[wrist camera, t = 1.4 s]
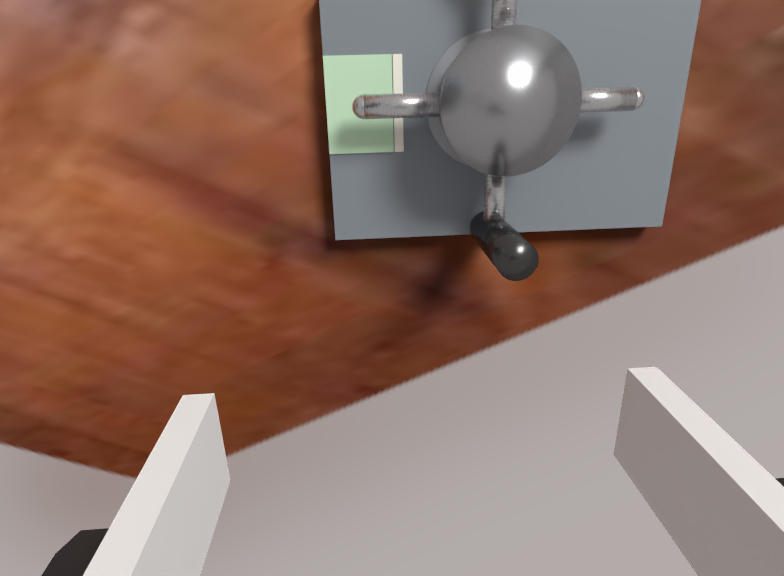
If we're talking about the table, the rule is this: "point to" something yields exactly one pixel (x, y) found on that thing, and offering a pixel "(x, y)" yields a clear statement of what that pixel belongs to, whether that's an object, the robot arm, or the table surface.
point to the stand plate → (458, 179)
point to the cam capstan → (505, 118)
